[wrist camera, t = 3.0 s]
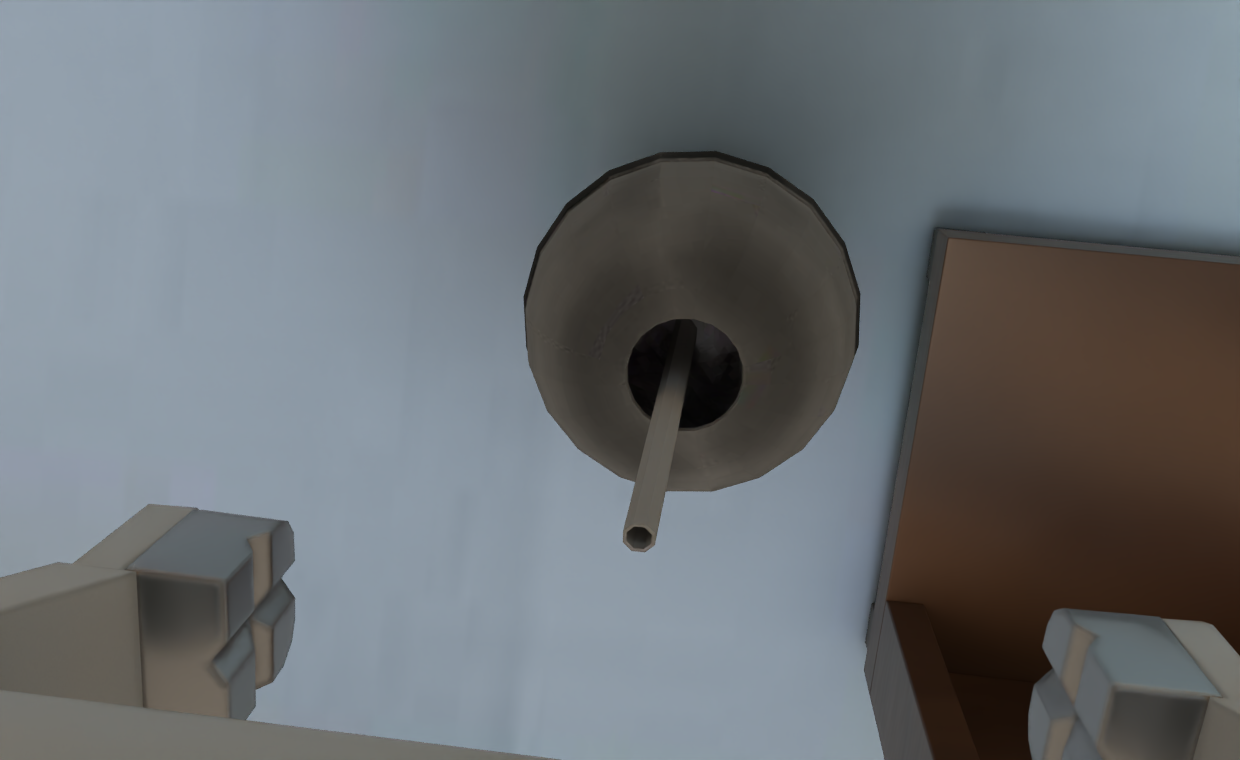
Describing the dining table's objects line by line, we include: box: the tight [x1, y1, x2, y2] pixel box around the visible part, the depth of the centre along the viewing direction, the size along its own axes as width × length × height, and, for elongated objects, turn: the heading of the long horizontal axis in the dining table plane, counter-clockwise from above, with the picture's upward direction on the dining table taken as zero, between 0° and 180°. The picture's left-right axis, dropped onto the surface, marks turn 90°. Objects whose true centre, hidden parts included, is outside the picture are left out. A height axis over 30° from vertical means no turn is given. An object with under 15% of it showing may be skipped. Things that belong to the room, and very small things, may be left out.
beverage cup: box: [524, 151, 860, 552], centre depth 25 cm, size 7×7×20 cm
